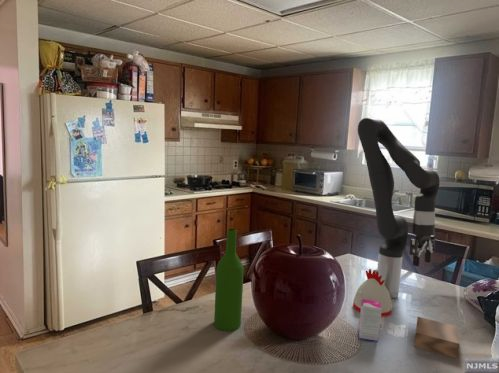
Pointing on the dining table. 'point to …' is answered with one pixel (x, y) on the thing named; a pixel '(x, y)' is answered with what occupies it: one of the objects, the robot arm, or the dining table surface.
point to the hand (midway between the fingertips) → (422, 264)
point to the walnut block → (437, 337)
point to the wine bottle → (229, 287)
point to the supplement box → (369, 320)
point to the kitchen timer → (373, 293)
